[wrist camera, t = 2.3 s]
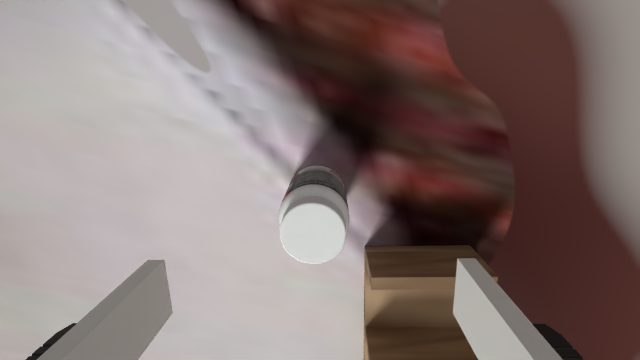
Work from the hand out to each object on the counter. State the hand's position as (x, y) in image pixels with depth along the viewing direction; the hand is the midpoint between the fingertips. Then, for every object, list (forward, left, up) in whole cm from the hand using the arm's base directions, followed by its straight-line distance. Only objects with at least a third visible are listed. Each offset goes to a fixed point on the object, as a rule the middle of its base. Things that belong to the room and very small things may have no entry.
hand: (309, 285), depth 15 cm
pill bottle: (0, 0, -14) cm, 14 cm away
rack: (+13, +8, -13) cm, 20 cm away
